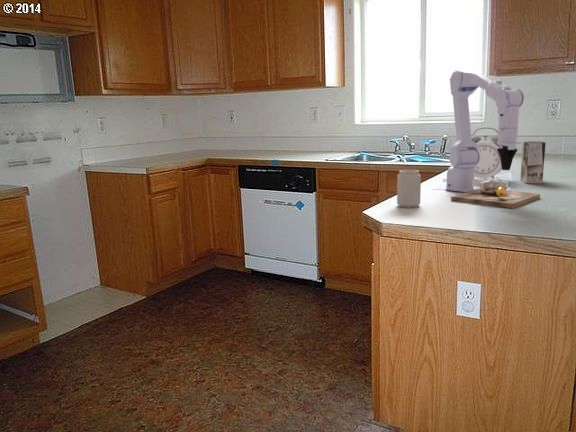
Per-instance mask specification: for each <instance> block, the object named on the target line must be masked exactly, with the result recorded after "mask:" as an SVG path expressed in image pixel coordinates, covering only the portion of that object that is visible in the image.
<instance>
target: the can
mask: <svg viewBox="0 0 576 432" xmlns="http://www.w3.org/2000/svg"><path fill="white" fill-rule="evenodd" d="M419 172H420V170H417V169H400V170H399V173H398V174H397V176H396V177H397V179H396V180H397V181H396V182H397V183H396V185H397V189H396V194H397V195H396V205H398V206H399V207H400V208H403V209H404V208H405V209H413V208H418V207H419V206H420V205H421V191H422V190H421V186H422V185H421V180H422V179H421V177H422V174H420V173H419Z"/></svg>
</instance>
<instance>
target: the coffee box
mask: <svg viewBox="0 0 576 432" xmlns="http://www.w3.org/2000/svg"><path fill="white" fill-rule="evenodd" d="M546 143H547V142H544V141H541V140H533V141H532V140H531V141H530V140H529V141H522V144H521V145H522V147H521V164H520V166H521V167H520V181H521V182H523V183H525V184H543V179H544V166H545V157H546Z"/></svg>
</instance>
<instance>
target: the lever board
mask: <svg viewBox="0 0 576 432" xmlns="http://www.w3.org/2000/svg"><path fill="white" fill-rule="evenodd" d="M477 188H478V187H477ZM540 198H541V193H537V192H527V191H517V190H509V189H506V194H505V195H504V196H503V197H499V196H498V195H490V194H483V193H481V190H480V187H479V188H478V189H475V190H472V191H468V192H461V193H458V194H454V195H452V196H450V201H451V202H457V203H465V204H472V205H473V204H474V205H481V206H489V207H497V208H504V207H505V208H507V209H512V208H513V209H515V208H518V207H520V206H522V205H525V204H527V203H531V202H533V201H536V200H538V199H540Z"/></svg>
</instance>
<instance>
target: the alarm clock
mask: <svg viewBox="0 0 576 432" xmlns="http://www.w3.org/2000/svg"><path fill="white" fill-rule="evenodd" d="M485 129H489V130H494V131H495V132H496V133H497V134H494V135H492V136H491V137H489V135H483V136H482V137H483V138H484V140H483V141H482V137H481V136H480V135H475V133H477V131H480V130H485ZM487 138H489V140H490V141H488V140H487ZM471 140H472V141H473V142H475V143H476V144H477V145H478V150H479V152H480V161H479V163H478V164H477V166H476V167H475V169H474V178H476V179H484V178H485V179H489V178H491V180H492V179H495V177H494V176H496V175H497V174H499V173H500V172H501V171H503V170H502V167H501V160H500V156H499V153H498V151H497V149H498V148H503V146H499V145H498V144H497V142H498V130H497V129H496V128H492V127H480V128H476V130H474V132H473V133H471Z"/></svg>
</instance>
